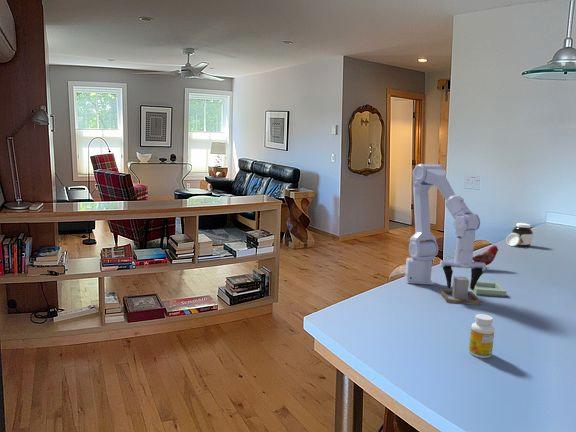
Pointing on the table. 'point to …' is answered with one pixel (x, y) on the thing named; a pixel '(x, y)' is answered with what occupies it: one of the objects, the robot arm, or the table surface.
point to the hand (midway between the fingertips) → (460, 288)
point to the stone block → (460, 288)
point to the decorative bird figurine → (486, 256)
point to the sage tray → (488, 289)
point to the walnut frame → (474, 301)
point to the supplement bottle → (482, 336)
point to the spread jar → (520, 235)
